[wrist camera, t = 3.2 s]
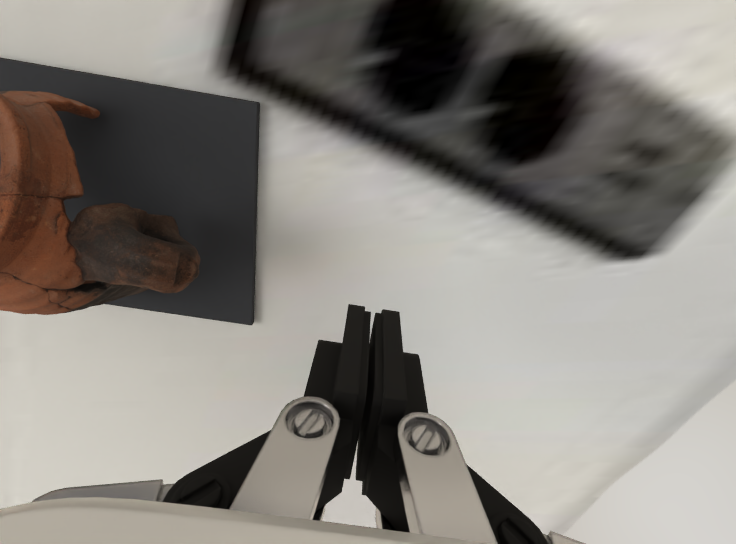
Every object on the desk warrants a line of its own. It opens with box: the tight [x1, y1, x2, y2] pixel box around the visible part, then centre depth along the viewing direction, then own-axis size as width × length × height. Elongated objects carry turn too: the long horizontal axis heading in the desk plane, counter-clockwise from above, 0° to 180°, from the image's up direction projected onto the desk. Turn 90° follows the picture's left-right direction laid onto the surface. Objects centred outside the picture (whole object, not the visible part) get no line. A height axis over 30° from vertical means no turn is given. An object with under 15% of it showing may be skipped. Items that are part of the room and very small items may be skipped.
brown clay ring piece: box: [0, 91, 200, 315], centre depth 16 cm, size 12×10×8 cm
